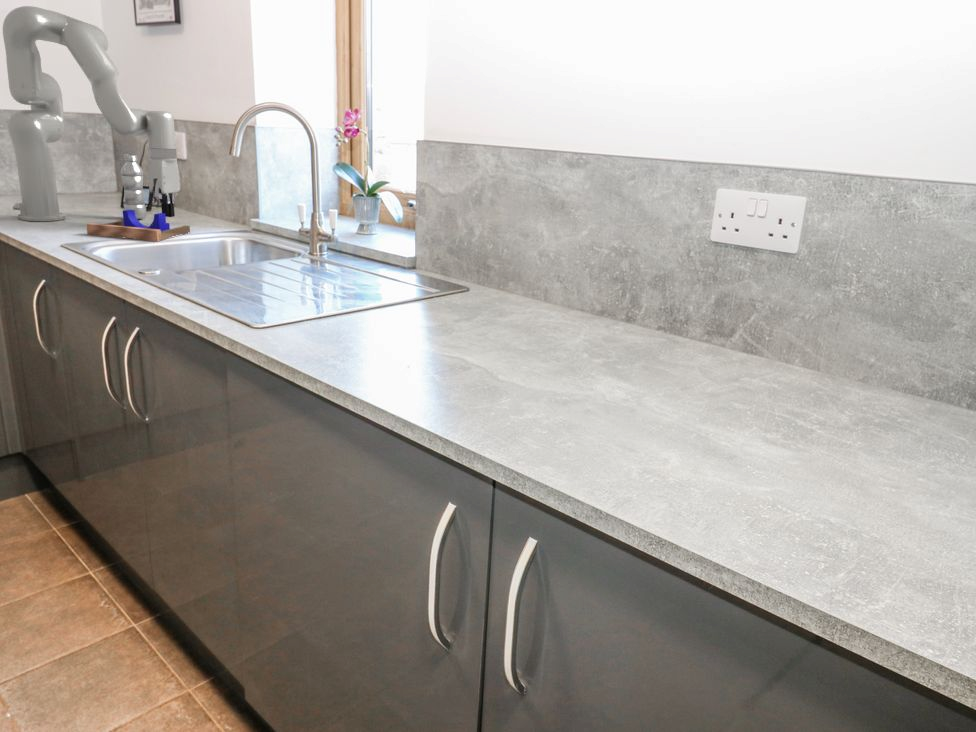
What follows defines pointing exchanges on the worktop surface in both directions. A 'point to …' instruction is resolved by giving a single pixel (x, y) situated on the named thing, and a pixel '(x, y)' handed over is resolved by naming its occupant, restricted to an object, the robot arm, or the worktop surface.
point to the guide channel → (133, 231)
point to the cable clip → (132, 221)
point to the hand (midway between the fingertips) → (168, 216)
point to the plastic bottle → (133, 186)
